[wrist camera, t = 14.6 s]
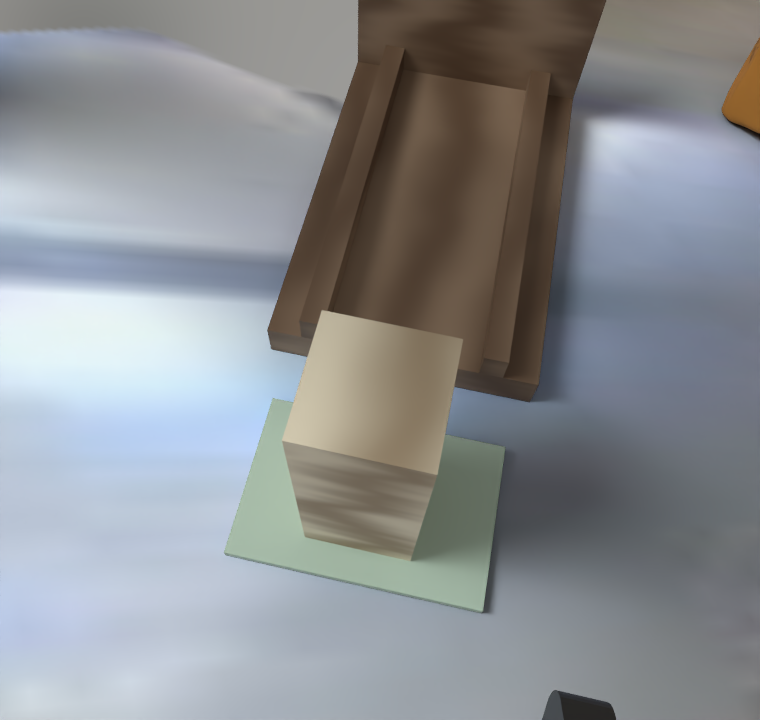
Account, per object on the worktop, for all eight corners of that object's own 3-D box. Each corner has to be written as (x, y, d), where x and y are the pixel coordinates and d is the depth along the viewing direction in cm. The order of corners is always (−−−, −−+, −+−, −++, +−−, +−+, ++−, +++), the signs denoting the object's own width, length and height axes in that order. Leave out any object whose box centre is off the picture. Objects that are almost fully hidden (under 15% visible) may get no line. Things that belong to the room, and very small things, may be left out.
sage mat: (225, 555, 33) (224, 552, 33) (273, 402, 37) (272, 398, 36) (481, 613, 32) (482, 611, 32) (503, 450, 36) (505, 447, 35)
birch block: (304, 537, 33) (281, 440, 22) (331, 439, 35) (321, 310, 25) (410, 561, 33) (437, 474, 22) (430, 460, 35) (463, 339, 24)
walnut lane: (271, 349, 38) (246, 231, 29) (361, 74, 48) (363, -74, 40) (529, 402, 37) (584, 296, 28) (566, 110, 48) (614, -33, 39)
